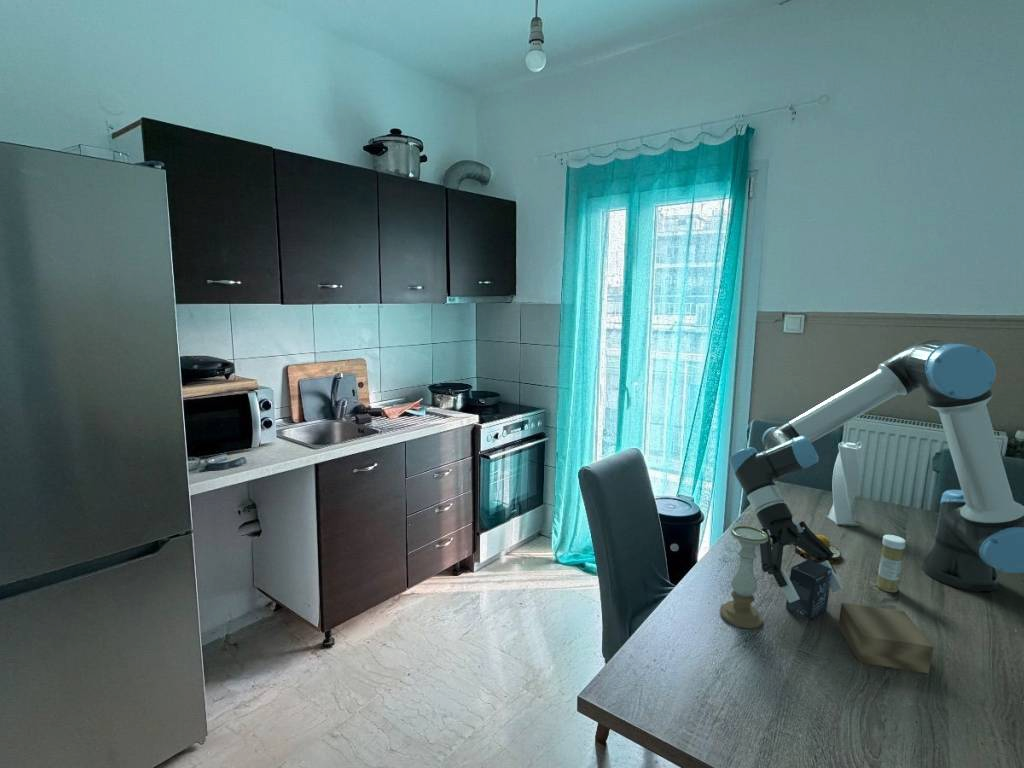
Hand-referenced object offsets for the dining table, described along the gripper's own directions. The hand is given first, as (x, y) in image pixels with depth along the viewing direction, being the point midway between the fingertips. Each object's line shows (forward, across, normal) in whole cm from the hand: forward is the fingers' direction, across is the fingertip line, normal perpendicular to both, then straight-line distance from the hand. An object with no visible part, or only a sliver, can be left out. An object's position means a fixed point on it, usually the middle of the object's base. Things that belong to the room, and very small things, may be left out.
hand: (816, 595), depth 121 cm
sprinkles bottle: (+2, -28, -5) cm, 28 cm away
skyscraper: (-21, -55, -28) cm, 65 cm away
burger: (-12, -28, -19) cm, 36 cm away
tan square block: (+13, -3, +6) cm, 14 cm away
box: (+2, 0, -5) cm, 5 cm away
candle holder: (0, +17, -7) cm, 18 cm away
